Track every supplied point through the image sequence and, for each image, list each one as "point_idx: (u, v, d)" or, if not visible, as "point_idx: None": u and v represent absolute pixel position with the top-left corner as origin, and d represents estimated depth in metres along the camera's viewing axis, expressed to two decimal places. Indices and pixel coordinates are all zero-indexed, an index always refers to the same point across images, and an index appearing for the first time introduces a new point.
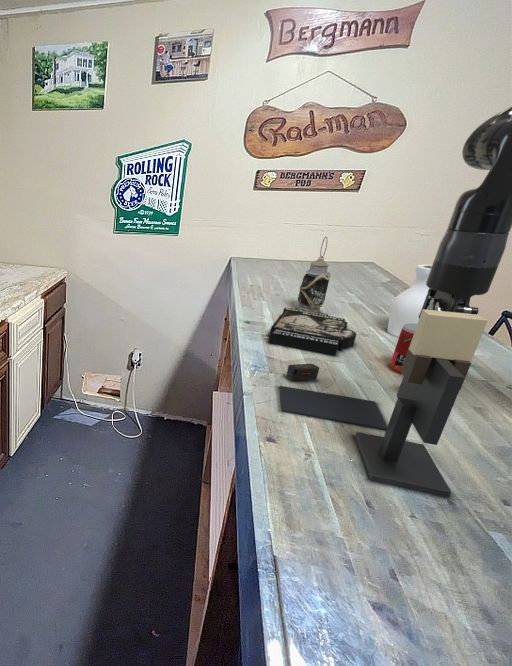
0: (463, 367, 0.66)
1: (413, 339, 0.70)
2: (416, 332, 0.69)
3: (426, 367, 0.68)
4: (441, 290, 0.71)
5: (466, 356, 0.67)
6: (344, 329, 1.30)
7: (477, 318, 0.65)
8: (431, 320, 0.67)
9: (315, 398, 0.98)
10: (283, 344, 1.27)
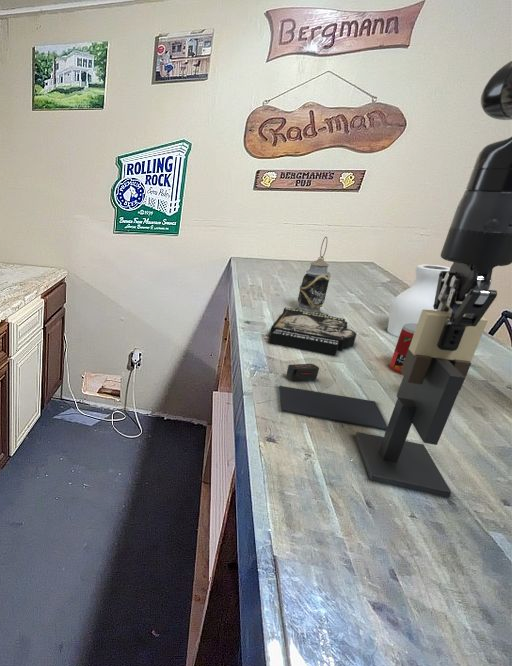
0: (463, 367, 0.66)
1: (413, 339, 0.70)
2: (416, 332, 0.69)
3: (425, 367, 0.68)
4: (458, 261, 0.62)
5: (466, 356, 0.66)
6: (344, 329, 1.30)
7: None
8: (431, 320, 0.67)
9: (315, 398, 0.98)
10: (283, 344, 1.27)
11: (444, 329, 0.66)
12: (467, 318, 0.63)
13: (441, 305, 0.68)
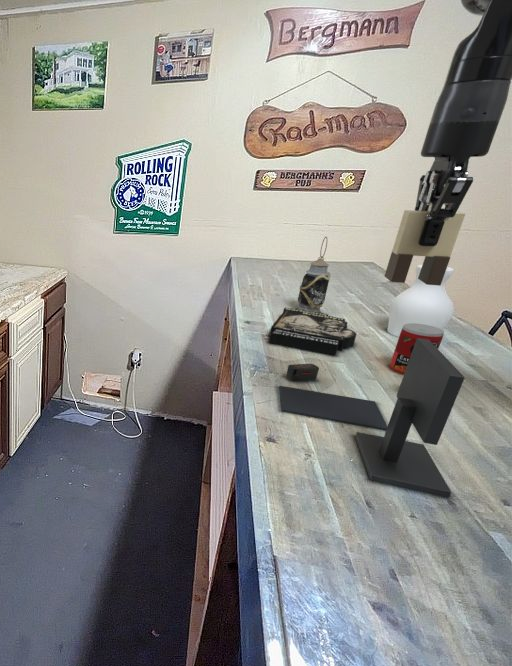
0: (443, 261, 0.70)
1: (395, 241, 0.74)
2: (399, 233, 0.73)
3: (408, 264, 0.72)
4: (437, 154, 0.65)
5: (445, 251, 0.70)
6: (344, 329, 1.30)
7: None
8: (412, 217, 0.70)
9: (315, 398, 0.98)
10: (283, 344, 1.27)
11: (425, 225, 0.69)
12: (446, 209, 0.66)
13: (422, 205, 0.71)
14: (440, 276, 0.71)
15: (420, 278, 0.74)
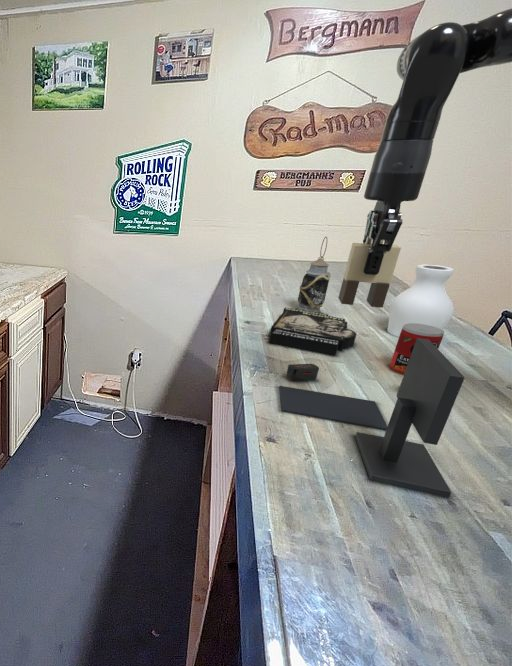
0: (383, 287, 0.82)
1: (346, 269, 0.86)
2: (348, 262, 0.85)
3: (355, 289, 0.84)
4: (375, 198, 0.77)
5: (386, 279, 0.82)
6: (344, 329, 1.30)
7: (393, 246, 0.80)
8: (357, 250, 0.82)
9: (315, 398, 0.98)
10: (283, 344, 1.27)
11: (368, 257, 0.81)
12: (383, 245, 0.78)
13: (367, 239, 0.83)
14: (382, 300, 0.83)
15: (367, 300, 0.86)
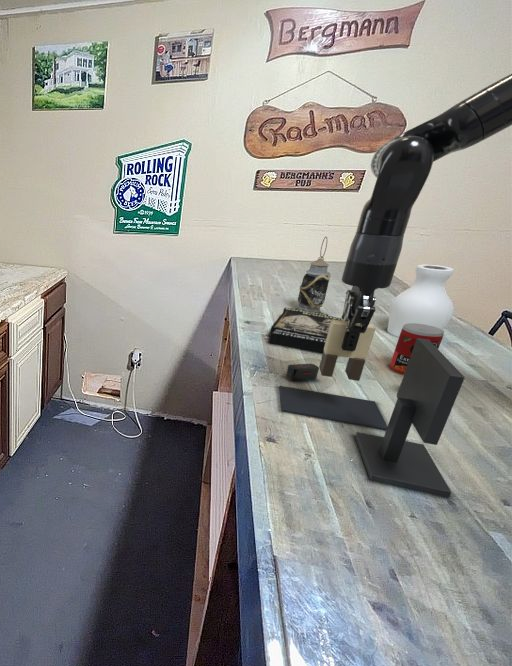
0: (360, 363, 0.88)
1: (325, 342, 0.92)
2: (327, 337, 0.91)
3: (333, 363, 0.90)
4: (351, 284, 0.83)
5: (362, 355, 0.88)
6: None
7: (368, 326, 0.86)
8: (335, 327, 0.88)
9: (315, 398, 0.98)
10: (283, 344, 1.27)
11: (345, 335, 0.87)
12: (359, 327, 0.84)
13: (345, 316, 0.89)
14: (358, 374, 0.88)
15: (346, 372, 0.92)
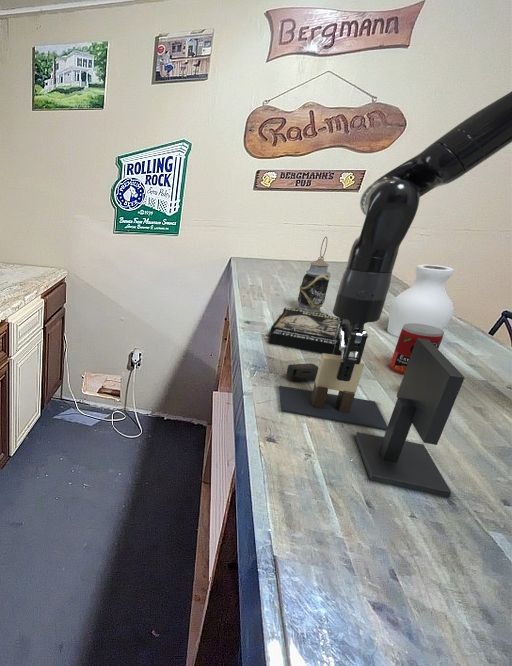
0: (349, 396, 0.91)
1: (317, 375, 0.94)
2: (318, 370, 0.94)
3: (324, 396, 0.92)
4: (342, 318, 0.86)
5: (352, 388, 0.91)
6: None
7: None
8: (326, 362, 0.91)
9: None
10: (283, 344, 1.27)
11: (340, 365, 0.87)
12: (353, 358, 0.84)
13: None
14: (348, 406, 0.91)
15: (336, 403, 0.95)
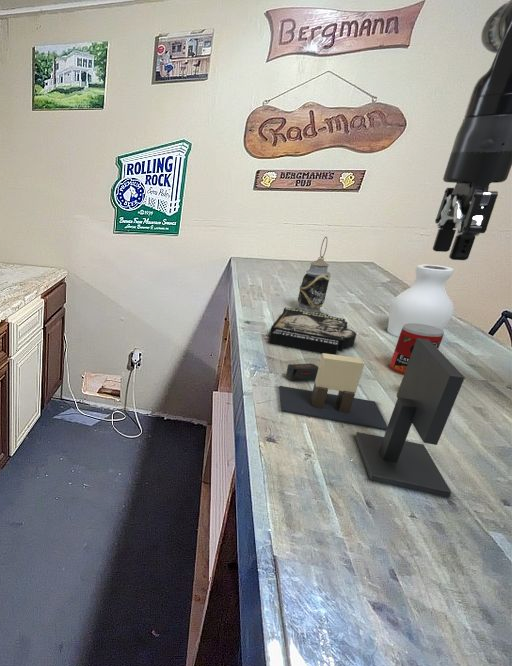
0: (349, 396, 0.91)
1: (317, 375, 0.94)
2: (318, 370, 0.94)
3: (324, 396, 0.92)
4: (459, 180, 0.71)
5: (352, 388, 0.91)
6: (344, 329, 1.30)
7: (357, 361, 0.89)
8: (326, 362, 0.91)
9: None
10: (283, 344, 1.27)
11: (456, 240, 0.72)
12: (477, 225, 0.69)
13: None
14: (348, 406, 0.91)
15: (336, 403, 0.95)
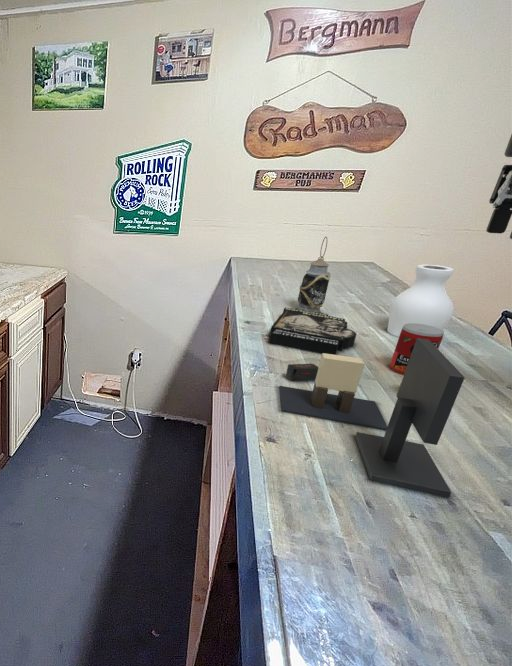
0: (349, 396, 0.91)
1: (317, 375, 0.94)
2: (318, 370, 0.94)
3: (324, 396, 0.92)
4: None
5: (352, 388, 0.91)
6: (344, 329, 1.30)
7: (357, 361, 0.89)
8: (326, 362, 0.91)
9: None
10: (283, 344, 1.27)
11: None
12: None
13: (498, 196, 0.74)
14: (348, 406, 0.91)
15: (336, 403, 0.95)
